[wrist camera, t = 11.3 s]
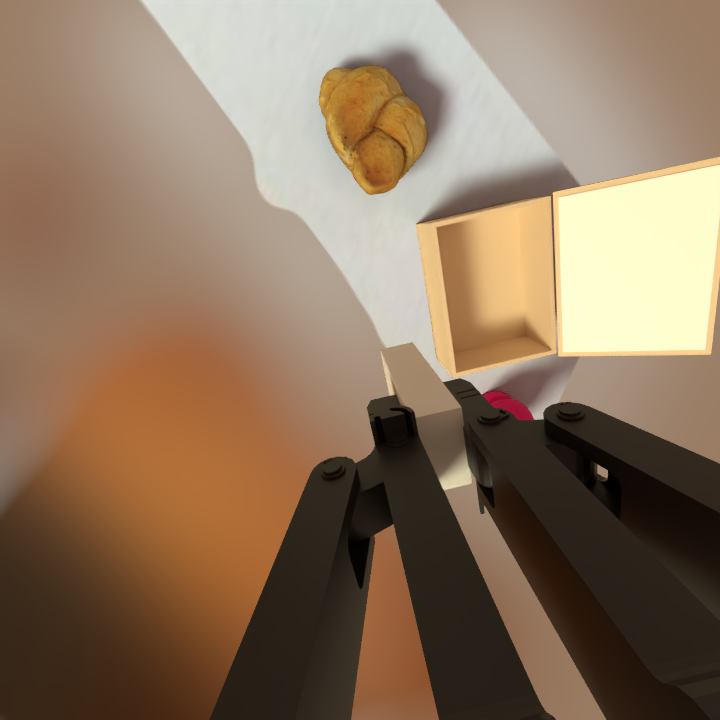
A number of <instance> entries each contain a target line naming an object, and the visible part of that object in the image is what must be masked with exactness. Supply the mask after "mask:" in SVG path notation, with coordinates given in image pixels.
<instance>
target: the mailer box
mask: <svg viewBox="0 0 720 720" xmlns="http://www.w3.org/2000/svg"><path fill="white" fill-rule="evenodd" d="M416 227H417V234H418V240H419V247H420V253H421V259H422V266H423V272H424V279H425V285H426V292H427V298H428V305H429V311H430V318H431V324H432V331H433V337H434V344H435V350H436V356H437V360H438V361H439V362H440V363H441V364H442V365H443V367H444V368H445V369H446V370H447V371H448V372H449V374H450V375H451V376H452V377H457V376H461V375H466V374H470V373H474V372H478V371H483V370H487V369H491V368H495V367H500V366H504V365H508V364H513V363H517V362H521V361H525V360H530V359H534V358H538V357H542V356H547V355H551V354H555V353H557V352H556V325H555V298H554V270H553V243H552V215H551V196H546V197H539V198H532V199H525V200H519V201H514V202H510V203H506V204H501V205H497V206H493V207H488V208H484V209H480V210H475V211H471V212H467V213H462V214H458V215H454V216H449V217H445V218H441V219H436V220H432V221H428V222H423V223H419V224H416Z"/></svg>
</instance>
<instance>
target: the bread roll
mask: <svg viewBox="0 0 720 720" xmlns="http://www.w3.org/2000/svg"><path fill="white" fill-rule="evenodd" d="M319 104H320V107H321V111H322V114H323V115H324V117H325V119H326V130H327V135H328V137H329V140H330V142H331V144H332V146H333V148H334V150H335V151H336V153H337V154H338V156H339V157H340V159H341V160H342V161H343V163H344V164H345V165H346V167H347V168H348V169H349V170H350V171H351V172H352V174H353V176H354V178H355V180H356V181H357V183H358V184H359V185H360V187H361V188H362V189H363V190H364V191H365V192H366V193H367V194H370V195H373V194H380V193H385V192H388V191H390V190H391V189H393V188H394V187H395V186H396V185H397V183H398V180H400V179H401V178H402V177H403V176H404V175H405V174H406V172H408V170H409V169H410V168H411V167H412V166H413V164H414V163H415V162H416V160H417V159H418V158H419V157H420V156H421V154H422V153H423V152H424V148H425V144H426V139H427V129H426V125H425V120H424V117H423V114H422V112H421V110H420V108H419V106H418V105H417V104H416V103H415V102H413V101H412V100H411V99H409V98H407V97H406V95H405V94H404V92H403V91H402V89H401V86H400V84H399V83H398V81H397V79H396V78H395V77H394V76H393V75H392V74H391V73H390V71H389V69H388V70H386V69H385V68H384V67H381V66H374V65H370V66H362V67H359V68H356V69H346V68H344V67H343V68H333V69H332V70H330V71H328V72H327V73H326V75H325V76H324V78H323V81H322V84H321V90H320V96H319Z"/></svg>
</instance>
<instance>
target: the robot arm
mask: <svg viewBox="0 0 720 720" xmlns="http://www.w3.org/2000/svg"><path fill="white" fill-rule="evenodd" d="M380 351H381V356H382V361H383V366H384V370H385V375H386V380H387V385H388V390H389V394H390V396H387V397H383V398H379V399H374V400H371V401H370V403H369V405H368V407H367V410H368V414H369V418H370V424H371V429H372V433H373V437H374V441H375V447H374V450H373V451H372V452H371V454H370V455H369V456H367V457H366V458H365V459H363V460H361V461H359V462H357V463H354V461H353V460H352V459H350V458H347V457H334V458H329V459H327V460H325V461H323V462H321V463H320V464H318V465H317V466H316V467H315V468H314V469H313V471H312V472H311V474H310V476H309V479H308V481H307V484H306V486H305V489H304V491H303V493H302V496H301V498H300V500H299V503H298V505H297V508H296V510H295V513H294V515H293V518H292V520H291V523H290V525H289V527H288V530H287V532H286V535H285V537H284V539H283V542H282V545H281V547H280V549H279V552H278V554H277V557H276V559H275V562H274V564H273V566H272V569H271V571H270V574H269V576H268V579H267V581H266V584H265V586H264V588H263V591H262V593H261V595H260V598H259V601H258V603H257V605H256V608H255V610H254V612H253V615H252V617H251V620H250V623H249V625H248V627H247V630H246V632H245V635H244V637H243V639H242V642H241V644H240V647H239V649H238V651H237V654H236V656H235V659H234V661H233V664H232V666H231V668H230V671H229V673H228V676H227V678H226V681H225V683H224V686H223V688H222V691H221V693H220V696H219V698H218V700H217V703H216V705H215V707H214V710H213V712H212V715H211V717H210V720H351V715H352V708H353V700H354V693H355V685H356V678H357V670H358V663H359V656H360V649H361V641H362V634H363V626H364V618H365V611H366V604H367V597H368V589H369V582H370V574H371V567H372V559H373V552H374V545H375V537H374V535H375V534H376V533H378V532H380V531H382V530H384V529H385V528H387V527H389V526H391V525H392V524H394V527H395V532H396V536H397V540H398V545H399V549H400V553H401V557H402V562H403V566H404V570H405V575H406V579H407V583H408V588H409V592H410V596H411V601H412V605H413V609H414V613H415V618H416V622H417V626H418V631H419V635H420V639H421V644H422V648H423V652H424V657H425V661H426V665H427V669H428V674H429V678H430V682H431V687H432V691H433V695H434V699H435V704H436V708H437V713H438V716H439V720H556V719H555V718H554V717H553V716H552V715H550V714H549V713H547V712H546V711H545V710H544V708H543V707H542V705H541V703H540V701H539V699H538V697H537V695H536V693H535V691H534V689H533V686H532V684H531V682H530V680H529V678H528V675H527V673H526V671H525V669H524V667H523V664H522V662H521V660H520V658H519V655H518V653H517V651H516V649H515V647H514V644H513V642H512V640H511V638H510V636H509V634H508V631H507V629H506V627H505V625H504V622H503V620H502V618H501V616H500V614H499V611H498V609H497V607H496V605H495V603H494V600H493V598H492V596H491V594H490V592H489V589H488V587H487V585H486V583H485V580H484V578H483V576H482V574H481V572H480V569H479V567H478V565H477V563H476V561H475V558H474V556H473V554H472V552H471V550H470V548H469V545H468V543H467V541H466V539H465V536H464V534H463V532H462V530H461V528H460V525H459V523H458V521H457V519H456V517H455V514H454V512H453V510H452V508H451V505H450V503H449V501H448V499H447V497H446V494H445V492H444V490H446V489H450V488H455V487H458V486H463V485H467V484H471V483H472V480H471V473H470V470H471V471H472V473H473V475H474V477H475V478H476V485H477V492H478V500H479V507H480V512H481V514H484V505H485V507H486V508H487V510H488V512H489V514H490V515H491V517H492V519H493V521H494V522H495V524H496V526H497V527H498V530H499V531H500V533H501V535H502V537H503V538H504V540H505V542H506V544H507V545H508V547H509V549H510V551H511V552H512V554H513V556H514V558H515V559H516V561H517V563H518V565H519V566H520V568H521V570H522V572H523V574H524V575H525V577H526V579H527V581H528V582H529V584H530V586H531V588H532V589H533V591H534V593H535V595H536V596H537V598H538V600H539V602H540V603H541V605H542V607H543V609H544V610H545V612H546V614H547V616H548V618H549V619H550V621H551V623H552V625H553V626H554V628H555V630H556V632H557V633H558V635H559V637H560V639H561V640H562V642H563V644H564V646H565V647H566V649H567V651H568V653H569V654H570V656H571V658H572V660H573V661H574V663H575V665H576V667H577V668H578V670H579V672H580V674H581V675H582V677H583V679H584V681H585V683H586V684H587V686H588V688H589V690H590V691H591V693H592V695H593V697H594V698H595V700H596V702H597V704H598V705H599V707H600V709H601V711H602V712H603V714H604V716H605V718H606V720H720V464H719V463H717V462H715V461H712V460H710V459H708V458H705V457H703V456H701V455H699V454H696V453H694V452H692V451H689V450H687V449H685V448H683V447H680V446H678V445H676V444H674V443H671V442H669V441H667V440H664V439H662V438H660V437H657V436H655V435H653V434H651V433H648V432H646V431H644V430H641V429H639V428H637V427H635V426H632V425H630V424H628V423H625V422H623V421H621V420H619V419H616V418H614V417H612V416H610V415H607V414H605V413H603V412H600V411H598V410H596V409H593V408H591V407H589V406H586V405H583V404H579V403H572V402H565V403H564V402H562V403H557V404H553V405H551V406H549V407H547V408H546V409H545V411H544V413H543V414H544V420H518V419H517V418H516V417H515V416H514V415H513V414H512V413H511V412H509V411H508V410H506V409H502V408H495V407H493V406H492V405H491V404H490V403H489V402H488V401H487V400H486V399H485V398H484V397H483V395H482V394H480V392H479V391H478V390H476V388H475V387H474V386H473V385H472V384H471V383H470V382H468V381H466V380H463V379H455V380H451V381H447V382H442V381H441V379H440V378H439V377H438V375H437V374H436V373H435V371H434V370H433V369H432V368H431V366H430V365H429V364H428V362H427V361H426V360H425V358H424V357H423V356H422V354H421V353H420V352H419V350H418V349H417V348H416V346H415V345H414V344H413V342H412V343H407V344H403V345H399V346H395V347H390V348H386V349H382V350H380ZM597 464H598V465H600V466H601V467H603V468H605V469H607V470H608V478H604V477H602V476H601V475H599V474H597Z"/></svg>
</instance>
